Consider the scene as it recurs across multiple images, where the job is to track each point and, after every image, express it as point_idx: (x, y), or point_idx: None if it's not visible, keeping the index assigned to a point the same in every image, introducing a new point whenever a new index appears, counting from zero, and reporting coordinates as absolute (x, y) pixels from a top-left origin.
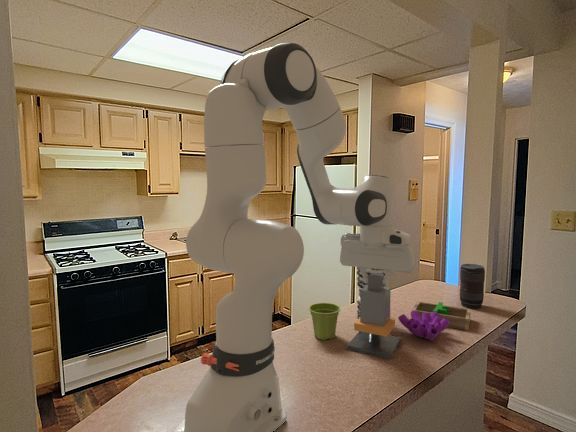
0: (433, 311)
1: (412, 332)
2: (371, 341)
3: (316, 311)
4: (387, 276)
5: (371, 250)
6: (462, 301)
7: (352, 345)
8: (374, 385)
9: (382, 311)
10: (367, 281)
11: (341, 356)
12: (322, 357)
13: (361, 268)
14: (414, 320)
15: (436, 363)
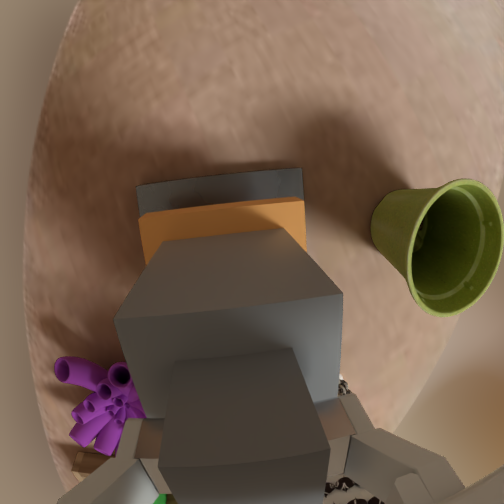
0: None
1: None
2: None
3: (473, 258)
4: (93, 485)
5: None
6: None
7: (283, 176)
8: (133, 18)
9: (157, 264)
10: (321, 411)
11: (290, 109)
12: (338, 74)
13: (442, 488)
14: (145, 415)
15: (35, 245)
